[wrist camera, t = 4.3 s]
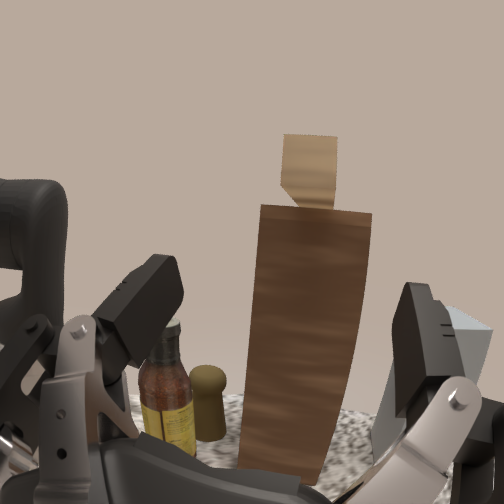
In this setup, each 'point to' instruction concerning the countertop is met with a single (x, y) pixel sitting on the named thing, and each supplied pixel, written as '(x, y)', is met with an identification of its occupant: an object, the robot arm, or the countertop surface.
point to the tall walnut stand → (301, 335)
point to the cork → (208, 402)
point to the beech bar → (310, 170)
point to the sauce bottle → (167, 392)
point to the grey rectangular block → (473, 356)
